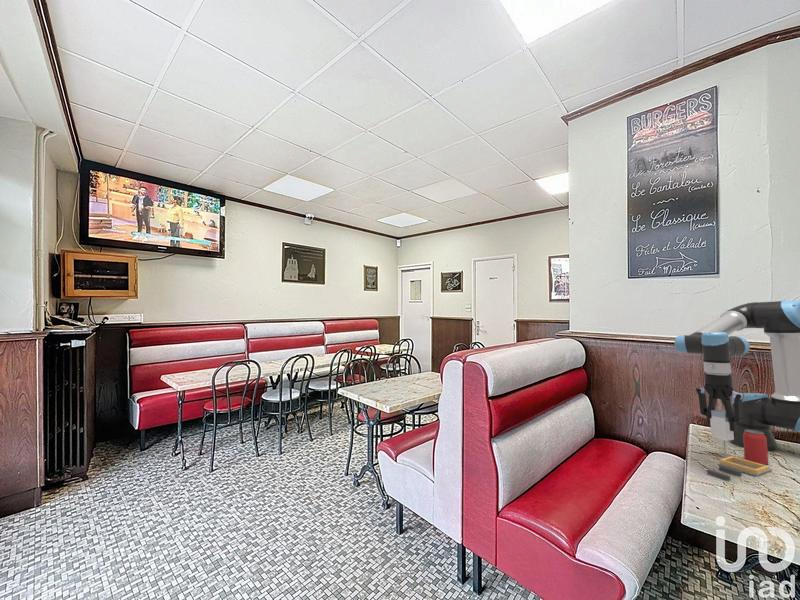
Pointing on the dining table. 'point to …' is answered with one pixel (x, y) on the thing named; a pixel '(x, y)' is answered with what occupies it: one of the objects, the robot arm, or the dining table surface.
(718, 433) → the plug
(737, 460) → the panel
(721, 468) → the dark gray parallel bars
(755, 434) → the beer can
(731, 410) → the robot arm
